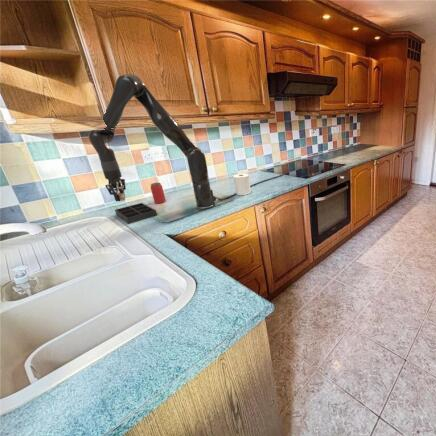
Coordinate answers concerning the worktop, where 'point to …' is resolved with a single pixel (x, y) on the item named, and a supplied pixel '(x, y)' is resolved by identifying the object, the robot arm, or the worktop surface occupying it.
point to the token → (121, 196)
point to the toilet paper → (242, 184)
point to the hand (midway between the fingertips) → (120, 199)
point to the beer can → (157, 193)
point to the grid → (135, 212)
